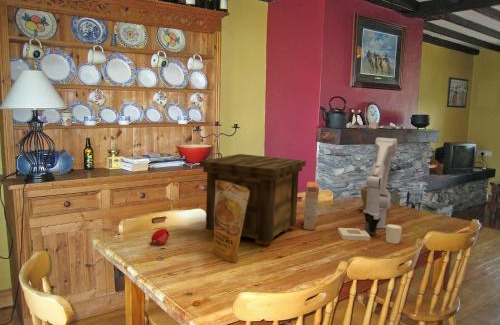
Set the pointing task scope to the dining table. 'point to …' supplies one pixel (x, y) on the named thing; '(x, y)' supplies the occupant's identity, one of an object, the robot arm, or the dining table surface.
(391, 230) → the shot glass
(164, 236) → the cap
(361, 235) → the socket plate
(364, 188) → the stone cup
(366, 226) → the plug
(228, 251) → the pancake mix bag
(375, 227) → the robot arm
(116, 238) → the dining table surface
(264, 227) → the crate
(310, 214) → the cracker box
